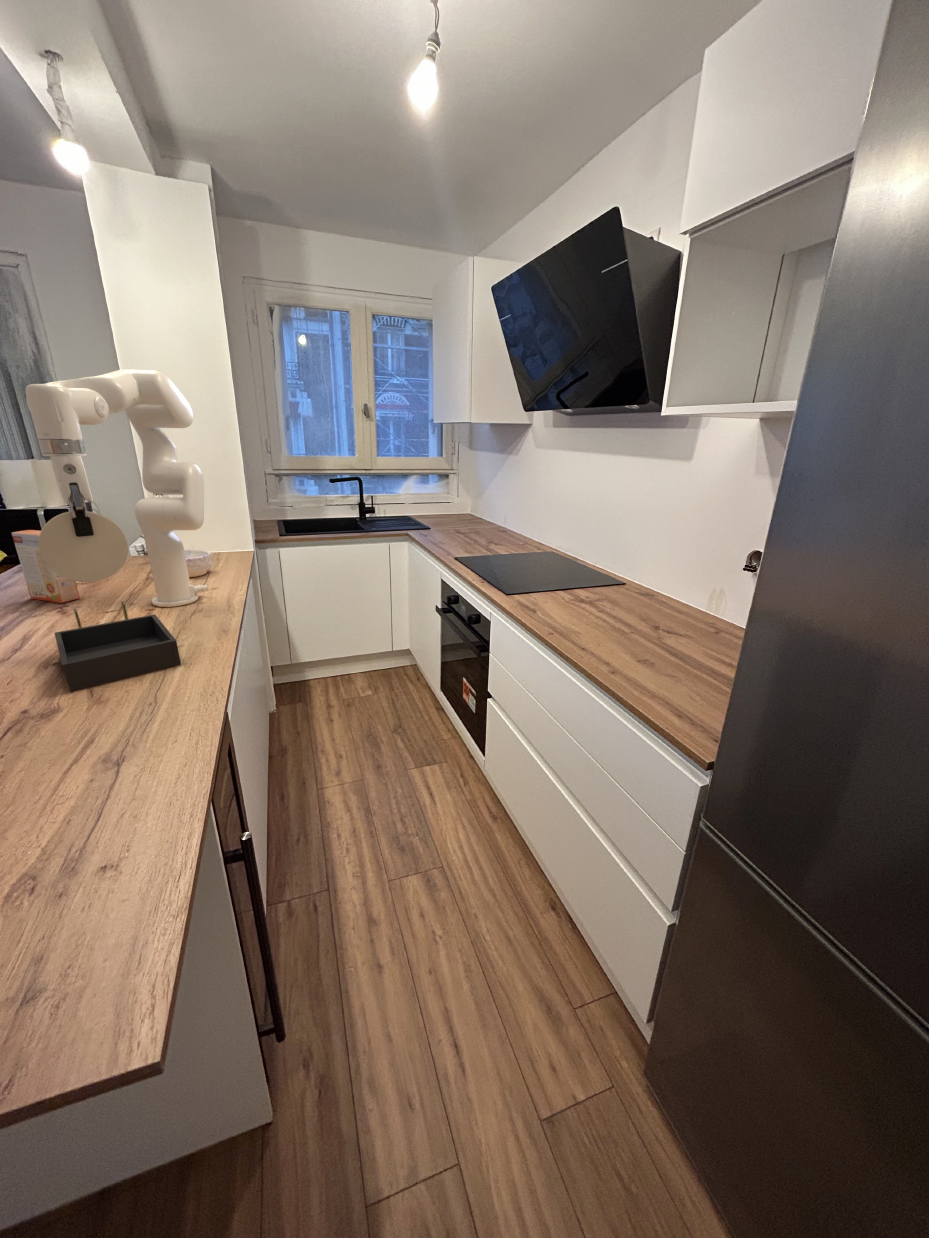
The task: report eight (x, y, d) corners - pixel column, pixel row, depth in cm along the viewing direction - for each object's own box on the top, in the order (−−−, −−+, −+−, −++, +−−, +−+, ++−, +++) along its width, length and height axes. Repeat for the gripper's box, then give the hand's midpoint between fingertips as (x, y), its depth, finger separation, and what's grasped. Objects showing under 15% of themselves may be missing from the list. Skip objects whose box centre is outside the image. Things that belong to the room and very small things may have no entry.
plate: (135, 573, 118) (117, 506, 112) (136, 574, 117) (117, 507, 111) (52, 587, 108) (27, 515, 102) (52, 588, 107) (27, 515, 101)
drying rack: (139, 620, 135) (133, 596, 132) (144, 628, 129) (138, 604, 127) (66, 634, 125) (59, 608, 122) (69, 643, 119) (61, 617, 117)
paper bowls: (201, 580, 173) (197, 558, 171) (159, 579, 174) (154, 557, 171) (221, 569, 188) (218, 549, 185) (182, 569, 188) (179, 548, 185)
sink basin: (159, 636, 125) (155, 614, 123) (181, 664, 110) (176, 640, 107) (61, 656, 112) (54, 632, 110) (70, 692, 97) (62, 665, 95)
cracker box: (81, 598, 152) (63, 532, 145) (61, 604, 147) (41, 535, 139) (51, 593, 156) (32, 528, 149) (30, 598, 151) (9, 531, 144)
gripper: (88, 449, 100) (109, 538, 106) (81, 448, 111) (101, 529, 117) (41, 449, 95) (66, 542, 101) (39, 448, 106) (61, 532, 112)
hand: (84, 534), depth 109 cm, fingers closed on plate, 1 cm apart
